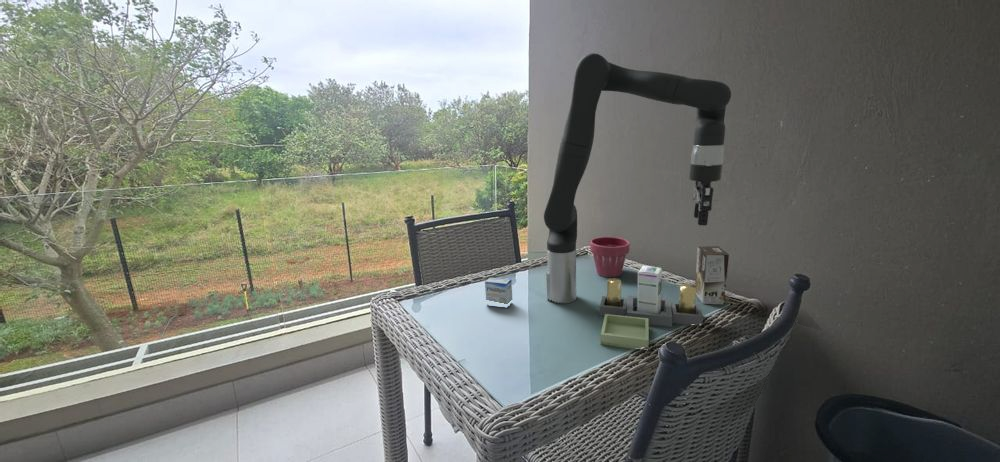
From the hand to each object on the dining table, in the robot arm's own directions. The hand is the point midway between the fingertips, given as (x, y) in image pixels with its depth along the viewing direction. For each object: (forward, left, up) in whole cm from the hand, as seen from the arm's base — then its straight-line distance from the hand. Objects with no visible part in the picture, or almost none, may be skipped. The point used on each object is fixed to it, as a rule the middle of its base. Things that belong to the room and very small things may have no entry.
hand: (700, 221), depth 106 cm
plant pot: (-26, +27, -28) cm, 47 cm away
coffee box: (+6, +11, -28) cm, 31 cm away
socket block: (-12, -5, -28) cm, 31 cm away
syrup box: (-12, -5, -28) cm, 31 cm away
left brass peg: (-22, -5, -28) cm, 36 cm away
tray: (-18, -19, -28) cm, 38 cm away
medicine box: (-59, -8, -28) cm, 65 cm away
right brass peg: (-2, -5, -28) cm, 28 cm away
